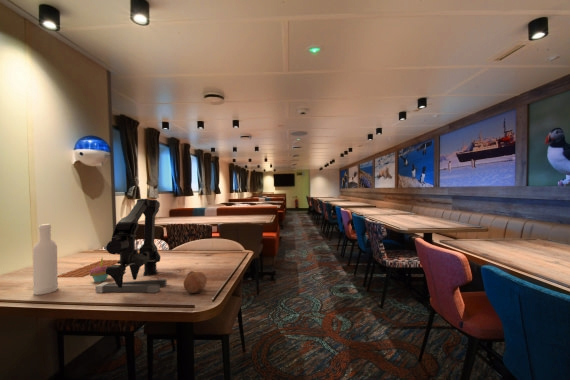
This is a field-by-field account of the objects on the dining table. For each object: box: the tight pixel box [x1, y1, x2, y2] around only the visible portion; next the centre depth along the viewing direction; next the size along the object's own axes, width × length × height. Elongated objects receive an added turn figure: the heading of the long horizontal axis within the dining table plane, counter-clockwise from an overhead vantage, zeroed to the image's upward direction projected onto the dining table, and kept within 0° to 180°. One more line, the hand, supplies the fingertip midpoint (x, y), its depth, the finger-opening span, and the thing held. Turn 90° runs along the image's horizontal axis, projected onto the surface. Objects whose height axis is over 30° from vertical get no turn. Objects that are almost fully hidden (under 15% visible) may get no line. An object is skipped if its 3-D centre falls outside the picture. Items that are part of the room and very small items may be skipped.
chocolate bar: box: [57, 259, 120, 279], centre depth 141 cm, size 14×30×1 cm, turn 177°
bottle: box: [32, 223, 59, 296], centre depth 108 cm, size 8×8×30 cm
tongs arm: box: [109, 278, 168, 287], centre depth 111 cm, size 24×2×3 cm, turn 98°
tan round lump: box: [183, 270, 208, 294], centre depth 105 cm, size 10×9×10 cm
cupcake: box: [89, 257, 109, 283], centre depth 121 cm, size 9×8×12 cm
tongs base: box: [94, 281, 161, 294], centre depth 107 cm, size 28×5×3 cm, turn 88°
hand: (127, 283), depth 108 cm, fingers open, 9 cm apart
